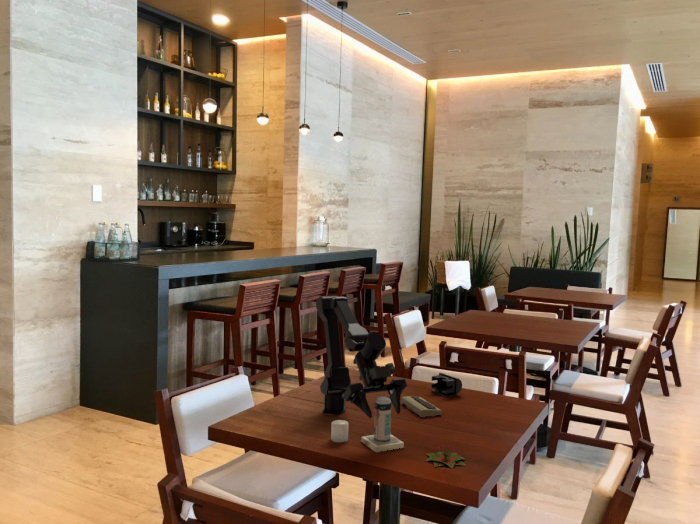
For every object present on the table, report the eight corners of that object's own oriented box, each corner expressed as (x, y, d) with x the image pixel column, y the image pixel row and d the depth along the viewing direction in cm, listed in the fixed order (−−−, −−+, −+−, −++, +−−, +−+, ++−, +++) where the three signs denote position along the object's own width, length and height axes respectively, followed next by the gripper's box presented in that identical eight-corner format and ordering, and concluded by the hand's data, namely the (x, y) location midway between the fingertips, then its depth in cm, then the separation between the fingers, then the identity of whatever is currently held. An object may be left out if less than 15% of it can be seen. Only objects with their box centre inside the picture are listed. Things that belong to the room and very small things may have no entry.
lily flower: (460, 452, 172) (460, 437, 172) (474, 470, 160) (475, 453, 160) (418, 454, 170) (419, 438, 170) (430, 471, 158) (430, 454, 158)
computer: (442, 416, 203) (442, 406, 203) (420, 419, 201) (420, 409, 200) (421, 403, 218) (421, 394, 218) (400, 405, 215) (401, 395, 215)
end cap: (462, 395, 228) (462, 377, 227) (447, 398, 224) (448, 379, 223) (444, 388, 236) (445, 371, 236) (430, 391, 232) (430, 373, 232)
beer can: (376, 435, 179) (377, 395, 178) (392, 437, 177) (393, 396, 176) (372, 440, 174) (372, 399, 173) (388, 442, 173) (389, 401, 172)
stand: (361, 441, 178) (361, 436, 178) (388, 437, 182) (388, 432, 182) (376, 452, 170) (376, 446, 170) (403, 447, 174) (403, 442, 173)
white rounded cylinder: (328, 441, 178) (329, 424, 177) (334, 435, 183) (334, 419, 182) (345, 443, 176) (345, 426, 176) (350, 437, 181) (350, 421, 181)
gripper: (349, 356, 173) (366, 405, 164) (405, 351, 181) (424, 397, 172) (337, 377, 181) (352, 424, 172) (391, 371, 189) (409, 416, 180)
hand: (385, 415), depth 174 cm, fingers open, 9 cm apart
